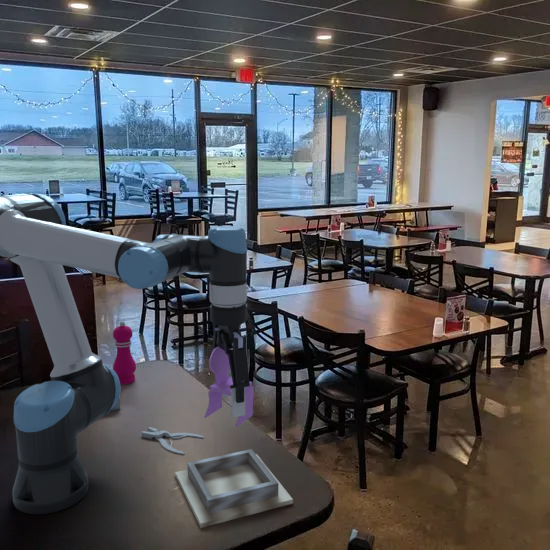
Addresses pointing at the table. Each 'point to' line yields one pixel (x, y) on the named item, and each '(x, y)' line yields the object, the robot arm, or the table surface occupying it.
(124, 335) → the pepper mill
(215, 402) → the toy chair
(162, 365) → the table surface
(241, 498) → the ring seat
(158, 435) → the pliers
